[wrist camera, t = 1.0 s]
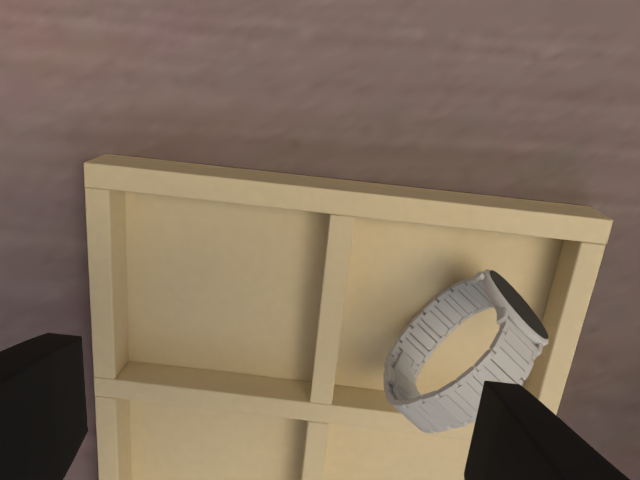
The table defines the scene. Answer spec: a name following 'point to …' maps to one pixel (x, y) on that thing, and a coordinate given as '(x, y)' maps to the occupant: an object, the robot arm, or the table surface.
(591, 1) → the table surface
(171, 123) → the table surface
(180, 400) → the four-compartment tray
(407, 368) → the wristwatch
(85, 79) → the table surface
